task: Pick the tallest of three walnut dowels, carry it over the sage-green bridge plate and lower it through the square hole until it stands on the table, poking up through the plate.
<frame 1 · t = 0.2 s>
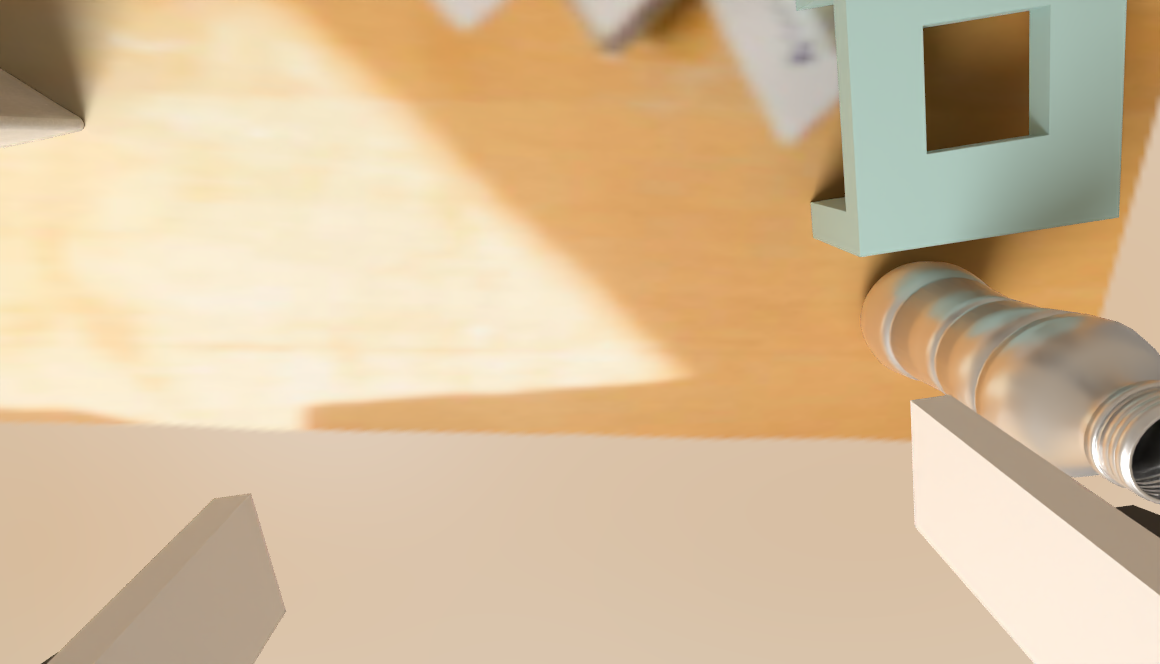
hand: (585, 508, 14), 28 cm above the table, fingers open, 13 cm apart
bridge: (915, 91, 39), on the table
plastic bottle: (903, 308, 42), on the table
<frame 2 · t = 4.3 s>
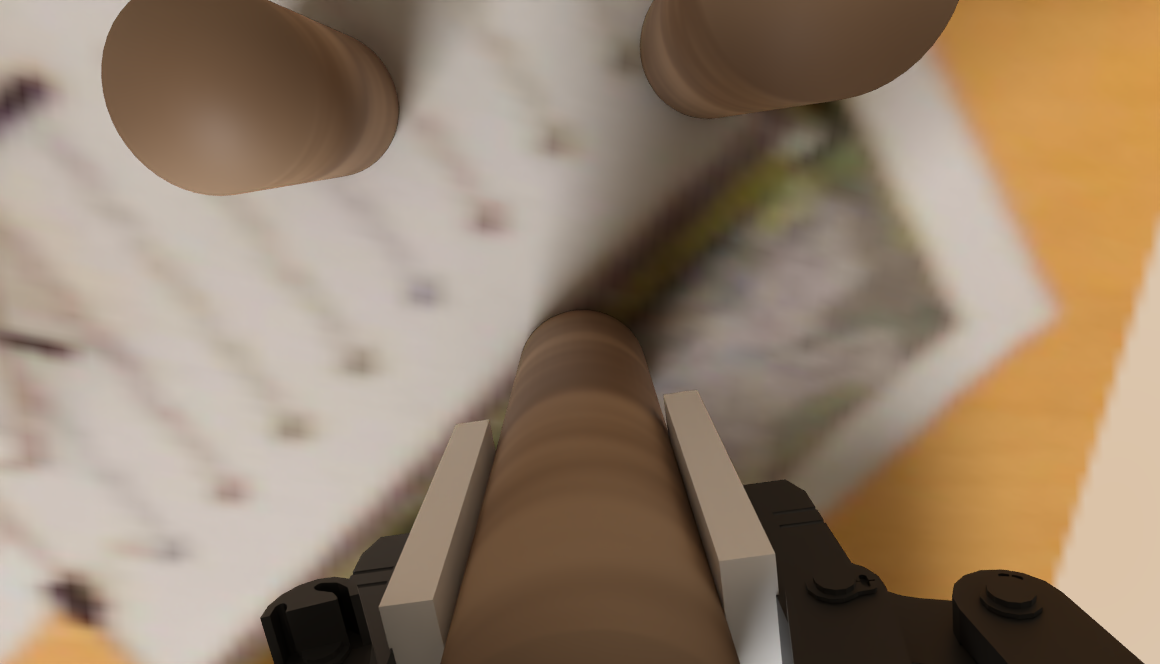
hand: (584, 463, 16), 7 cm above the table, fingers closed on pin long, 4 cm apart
pin medium: (711, 44, 20), on the table
pin short: (328, 105, 21), on the table
pin long: (582, 371, 23), on the table, touching gripper
when the fingers open (9 cm above the table, at t = 9.4 s): pin long drops 2 cm, on the table.
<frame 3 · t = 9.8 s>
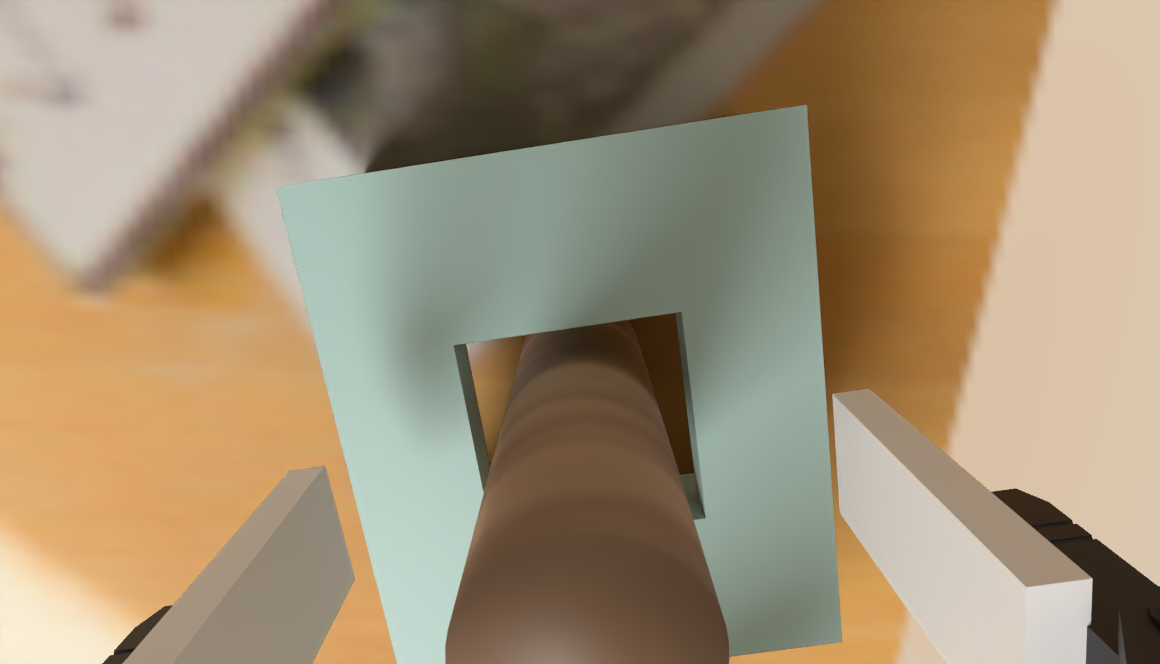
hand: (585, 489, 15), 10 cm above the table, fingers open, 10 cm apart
bridge: (582, 353, 25), on the table
pin long: (581, 353, 25), on the table
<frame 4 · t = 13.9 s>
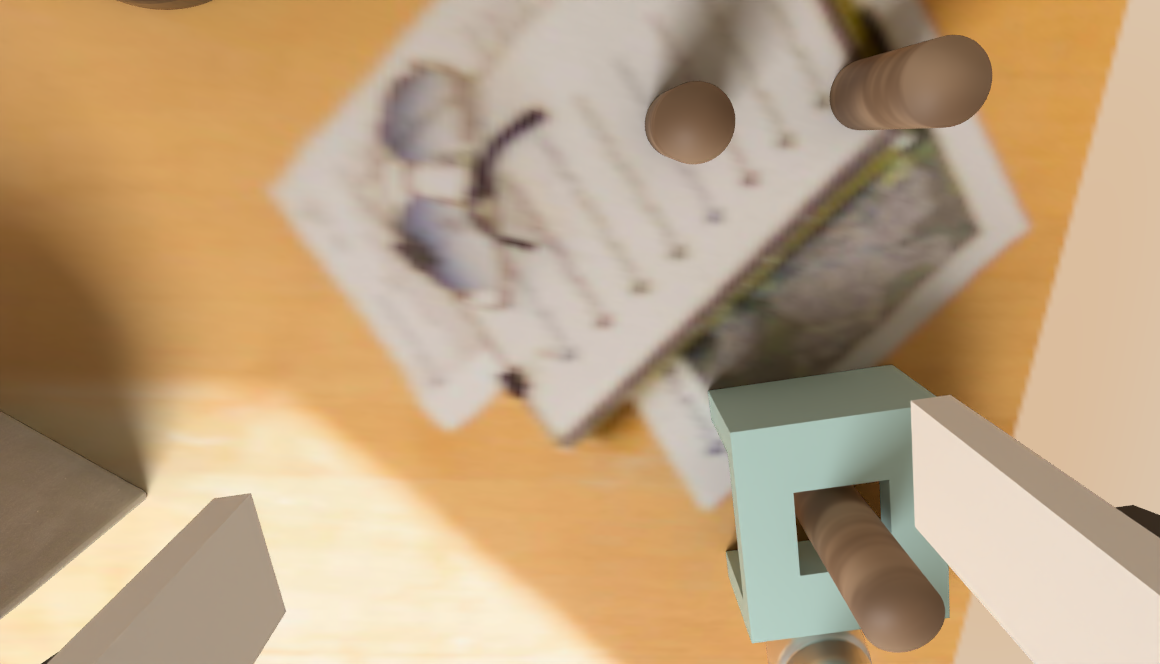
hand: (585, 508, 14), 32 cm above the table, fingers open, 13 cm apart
pin medium: (863, 95, 43), on the table
bridge: (806, 474, 49), on the table
pin short: (678, 123, 43), on the table
plastic bottle: (803, 625, 52), on the table
planter: (16, 474, 49), on the table
pin long: (806, 474, 49), on the table
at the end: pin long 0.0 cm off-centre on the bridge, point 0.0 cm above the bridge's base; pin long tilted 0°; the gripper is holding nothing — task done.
